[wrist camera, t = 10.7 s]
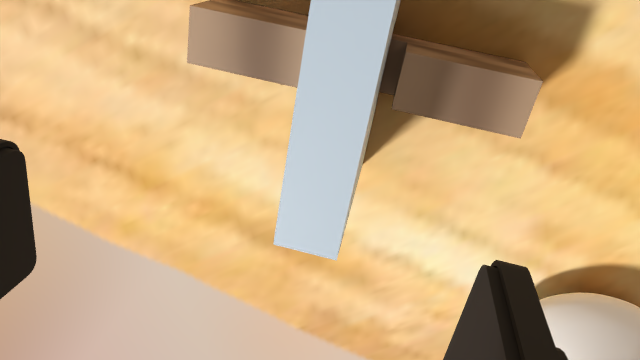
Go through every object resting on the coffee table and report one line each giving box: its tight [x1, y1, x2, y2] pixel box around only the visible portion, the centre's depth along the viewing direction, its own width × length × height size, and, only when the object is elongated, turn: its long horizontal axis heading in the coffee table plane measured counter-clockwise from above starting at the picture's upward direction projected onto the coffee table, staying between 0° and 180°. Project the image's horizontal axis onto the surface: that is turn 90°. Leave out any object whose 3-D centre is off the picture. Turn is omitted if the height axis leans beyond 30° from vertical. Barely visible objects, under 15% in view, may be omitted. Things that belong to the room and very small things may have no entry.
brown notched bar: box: [187, 0, 543, 138], centre depth 27 cm, size 18×3×4 cm, turn 80°
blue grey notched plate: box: [274, 0, 401, 260], centre depth 24 cm, size 3×14×11 cm, turn 170°
